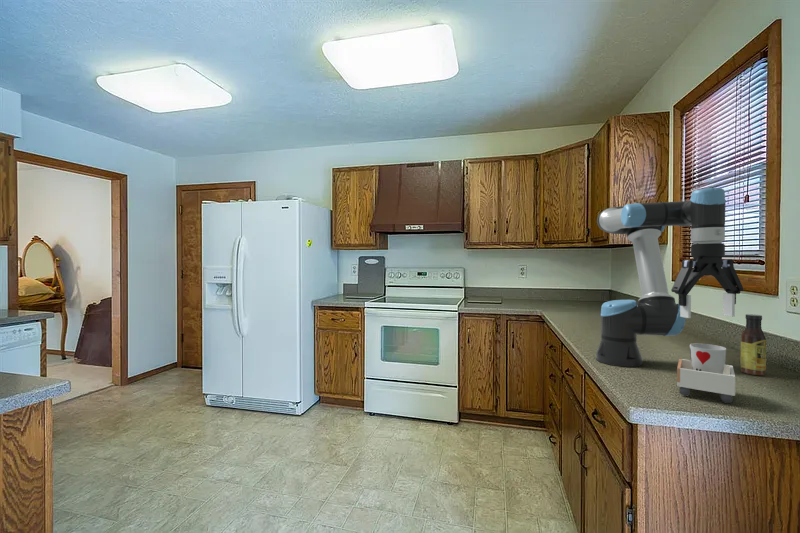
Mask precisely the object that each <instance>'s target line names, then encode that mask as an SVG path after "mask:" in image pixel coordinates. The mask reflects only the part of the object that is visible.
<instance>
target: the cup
mask: <svg viewBox="0 0 800 533" xmlns="http://www.w3.org/2000/svg"><path fill="white" fill-rule="evenodd" d="M689 354H690V356H689V357H690V360H691V363H692V368H693V370H697V371H704V372H711V373H718V374H723V370H724V366H725V365H726V356H727V348H726V347H725V346H720V345H717V344H711V343H700V342H699V343H696V342H695V343H690V344H689Z"/></svg>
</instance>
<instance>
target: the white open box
mask: <svg viewBox="0 0 800 533" xmlns="http://www.w3.org/2000/svg"><path fill="white" fill-rule="evenodd" d="M676 387H679V390H678V391H679V394H680V395H681V396H689V395H690V393H691V390H690V389H692V390H698V391H704V392H709V393H710V392H711V393H716V394H720V400H721V401H722V402H723V403H725V404H731V403H733V396H736V374H735V369H734V366H733V365H729V364H725V366H724V370H723V374H718V373H711V372H704V371H697V370H693V368H692V363H691V359H684V358H683V359H682V358H679V359H678V362H677V368H676Z"/></svg>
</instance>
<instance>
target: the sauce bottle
mask: <svg viewBox="0 0 800 533" xmlns="http://www.w3.org/2000/svg"><path fill="white" fill-rule="evenodd" d="M762 320H763V316H762V315H761V314H749V313H747V314H745V321H746V322H745V328H744V330H742V332H741V335H740V336H741V337H740V338H741V339H740V359H739V360H740V362H739V363H740V372H742V373H744V374H747V375H752V376H765V375H766V370H767V337H766V335H765V333H764V331H763V328H762Z"/></svg>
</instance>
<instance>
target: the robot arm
mask: <svg viewBox="0 0 800 533" xmlns="http://www.w3.org/2000/svg"><path fill="white" fill-rule="evenodd" d="M726 203H727V200H726V192H725V189H724V188H721V187H709V188H708V187H706V188H700V189H696V190H693V191H692V192H691V194H690V200H682V201H667V202H666V201H663V202H661V201H660V202H644V203H643V202H642V203H639V202H634V203H628V204H627V203H626V204H625V205H623V206H612V207H608V208H605V209H604V210H602V211H601V212H600V213H599V214H598V215H597V219H596V223H597V226H598V228H599V229H600V230H601V231H603V232H605V233H608V234H612V235H626V236H627V241H629V242H631V243H632V248H633V252H634V259H635V264H636V270H637V274H638V275H637V276H638V277H637V278H638V281H639V287H640V289H639V290H640V293H641V297H640V298H639V299H638V301H636V299H615V300H608V301H605V302H603V303H602V305H601V309H600V329H601V330H600V333H601V335H600V343H599V345H598V347H597V349H596V352H595V353H596V354H595V356H596V357H595V358H596V360H597V361H598V362H600V363H602V364H606V365H610V366H617V367H628V368H629V367H630V368H632V367H640V366H641V365H643V357H642V354H641V352H640V349H639V346H638V344H637V343H638V342H637V337H638V336H639V335H640V336H642V335H643V336H663V337H666V336H678V335H680V334H681V333H682V331H683V330H684V327H685V326H686V325H685V324H686V319H691V318H692V311H691V310H692V295H691V294H690V292H691V291H692V290H693V288H694V287H695V285H697V283H698V282H699V280H700V279H702V278H703V277H704V276H712V277H714V278H715V280H716V281H717V282H718V283H719V284H720V286H721V287H722V289H723V290H724V291H725V292H723V294H722V295H723V296H722V315H723V316H727V317H735V314H736V313H735V312H736V311H735V310H736V309H735V308H736V306H735V305H736V304H737V294H738V295H740V294H741V292H743V291H744V287H743V284H742V282H741V280H740V277H739V275H738V273H737V271H736V269H735V266H734V265H735V264H734V260H733V259H729V258H728V259H726V258H725V259H724V258H723V257H724V256H725V255H726V244H725V243H723V242H725V241H726V240H725V239H726V228H725V227H726ZM674 226H675V227H676V226H678V227H690V242H691V243H692V244H691V245H690V255H691V258H692V259H683V260H682V261H681V267H680V269H679V270H680V271H679V272H678V274H677V276H676V278H675V280H674V283H673V285H672V287H671V292H672V293H674V294H676V295H678V303H676V299H675V297H674V296H672V295H671V294H670V292H669V289H668V284H667V279H666V273H665V268H664V264H663V260H662V259H663V258H662V254H661V249H660V244H659V237H660V236H662V233H663V232H664V231H665V229H666V227H674ZM637 335H638V336H637Z"/></svg>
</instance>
